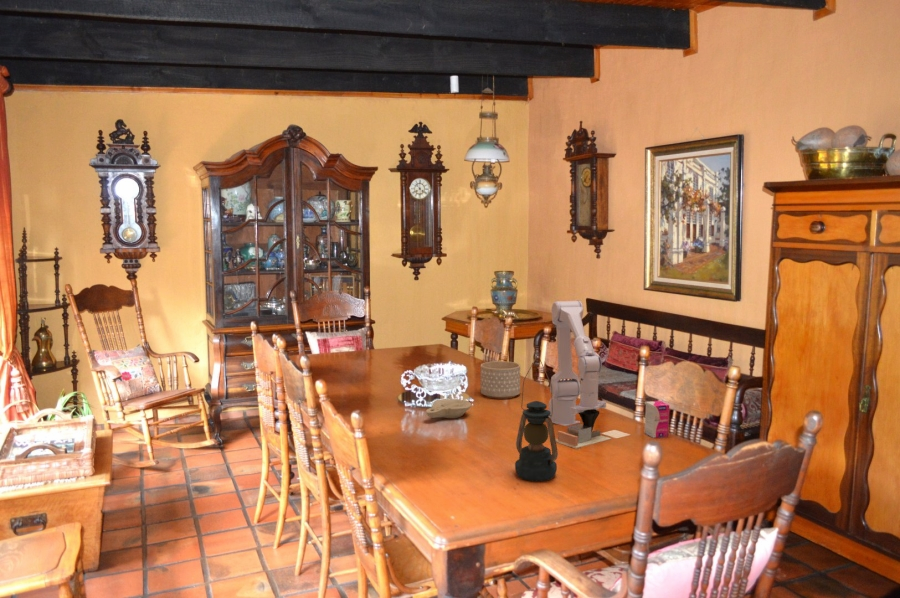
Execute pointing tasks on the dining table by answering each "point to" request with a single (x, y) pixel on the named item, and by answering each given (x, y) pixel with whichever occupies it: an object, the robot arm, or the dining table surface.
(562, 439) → the rail board
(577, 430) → the clip
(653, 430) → the supplement box
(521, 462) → the lantern
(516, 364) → the planter
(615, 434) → the pad
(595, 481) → the dining table surface
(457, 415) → the oil lamp
